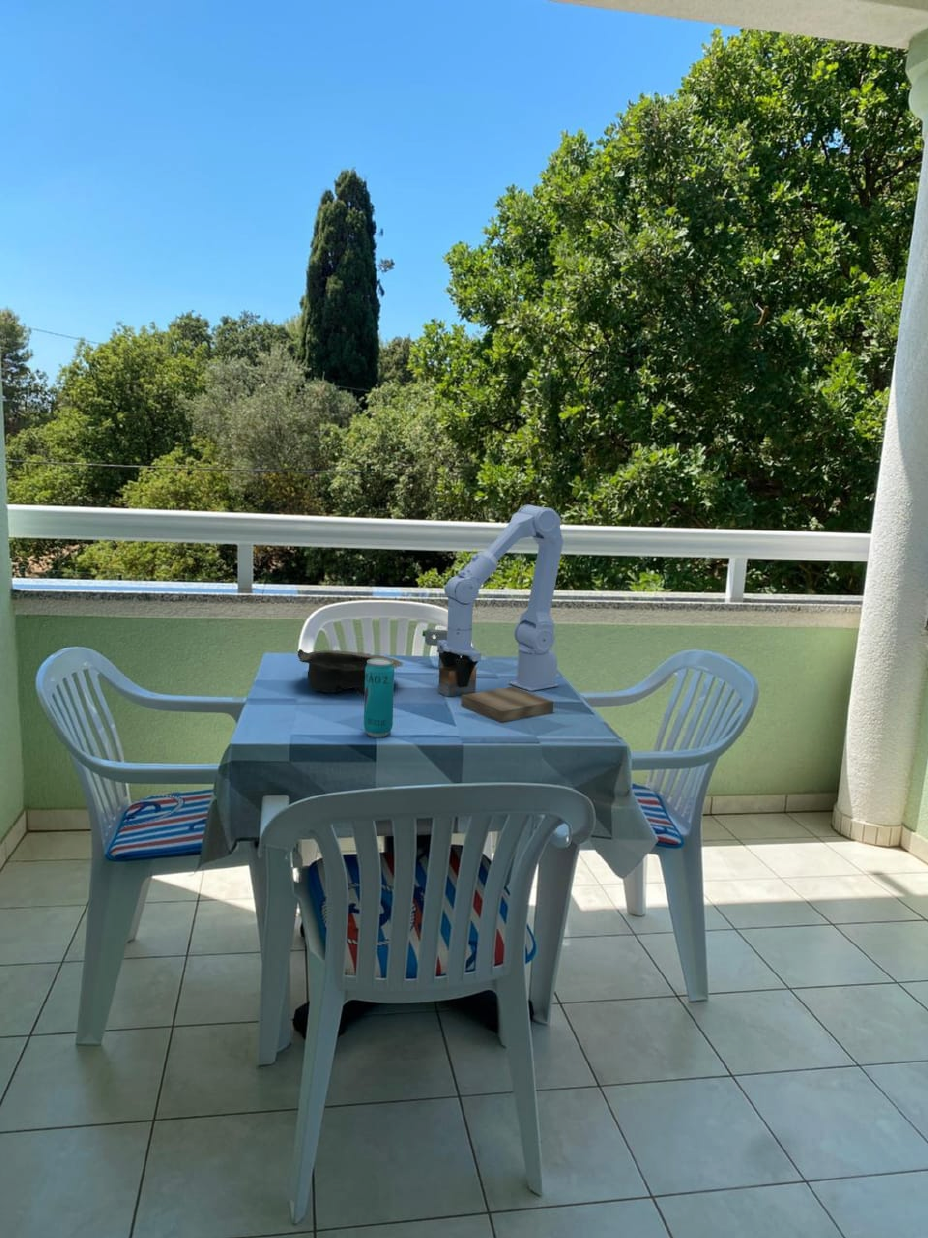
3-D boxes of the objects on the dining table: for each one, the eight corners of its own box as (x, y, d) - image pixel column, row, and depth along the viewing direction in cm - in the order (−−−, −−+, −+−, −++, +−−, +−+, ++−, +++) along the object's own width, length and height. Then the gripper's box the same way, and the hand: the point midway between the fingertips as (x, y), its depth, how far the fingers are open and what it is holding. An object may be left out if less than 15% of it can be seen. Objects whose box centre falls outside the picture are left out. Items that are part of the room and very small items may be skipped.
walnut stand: (512, 696, 213) (512, 686, 213) (552, 712, 203) (553, 701, 202) (461, 705, 204) (461, 695, 204) (501, 722, 193) (501, 711, 193)
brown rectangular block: (465, 688, 219) (466, 663, 217) (475, 692, 215) (476, 667, 214) (438, 692, 214) (439, 667, 212) (448, 696, 211) (449, 671, 209)
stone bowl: (289, 699, 203) (290, 658, 202) (305, 678, 228) (305, 641, 227) (400, 701, 204) (401, 660, 203) (404, 680, 229) (404, 643, 228)
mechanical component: (459, 671, 234) (460, 634, 232) (420, 668, 236) (421, 630, 234) (461, 669, 237) (463, 631, 235) (423, 665, 238) (424, 628, 236)
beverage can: (364, 728, 185) (365, 657, 182) (392, 729, 186) (394, 658, 183) (363, 738, 180) (365, 664, 177) (392, 738, 180) (394, 665, 177)
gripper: (427, 623, 215) (425, 679, 217) (465, 635, 203) (462, 694, 206) (451, 621, 219) (449, 675, 222) (489, 632, 208) (486, 690, 210)
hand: (457, 684), depth 214 cm, fingers closed on brown rectangular block, 4 cm apart
